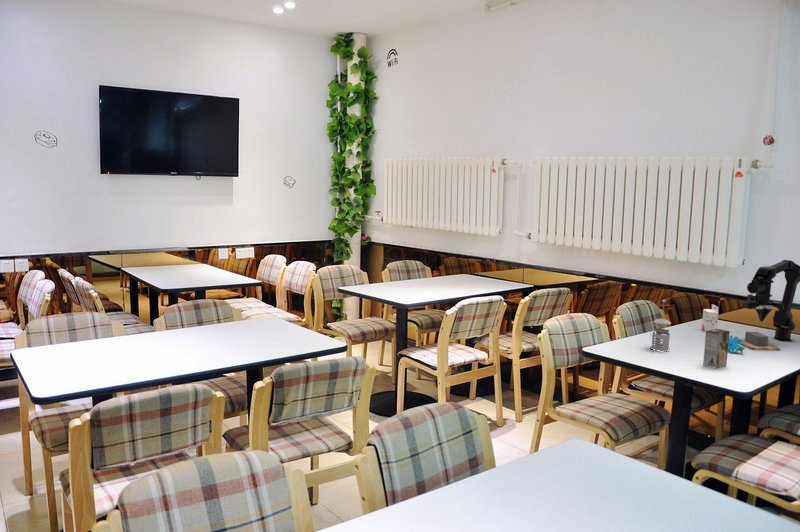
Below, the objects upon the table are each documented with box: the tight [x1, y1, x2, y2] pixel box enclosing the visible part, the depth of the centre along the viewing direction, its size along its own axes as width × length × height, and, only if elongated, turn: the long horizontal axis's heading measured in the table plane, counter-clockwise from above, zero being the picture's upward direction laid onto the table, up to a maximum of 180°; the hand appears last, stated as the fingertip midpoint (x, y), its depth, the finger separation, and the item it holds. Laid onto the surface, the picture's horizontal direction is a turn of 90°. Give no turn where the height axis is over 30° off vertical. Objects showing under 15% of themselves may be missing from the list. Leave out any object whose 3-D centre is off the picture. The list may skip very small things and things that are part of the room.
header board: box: [735, 338, 781, 352], centre depth 334 cm, size 14×18×4 cm
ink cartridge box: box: [701, 303, 719, 332], centre depth 362 cm, size 9×5×15 cm, turn 179°
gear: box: [728, 335, 746, 354], centre depth 320 cm, size 11×6×10 cm
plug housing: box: [744, 331, 770, 346], centre depth 333 cm, size 6×10×5 cm, turn 2°
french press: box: [649, 299, 672, 351], centre depth 320 cm, size 10×12×25 cm
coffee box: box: [702, 328, 730, 369], centre depth 294 cm, size 9×6×16 cm
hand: (761, 321), depth 337 cm, fingers closed
